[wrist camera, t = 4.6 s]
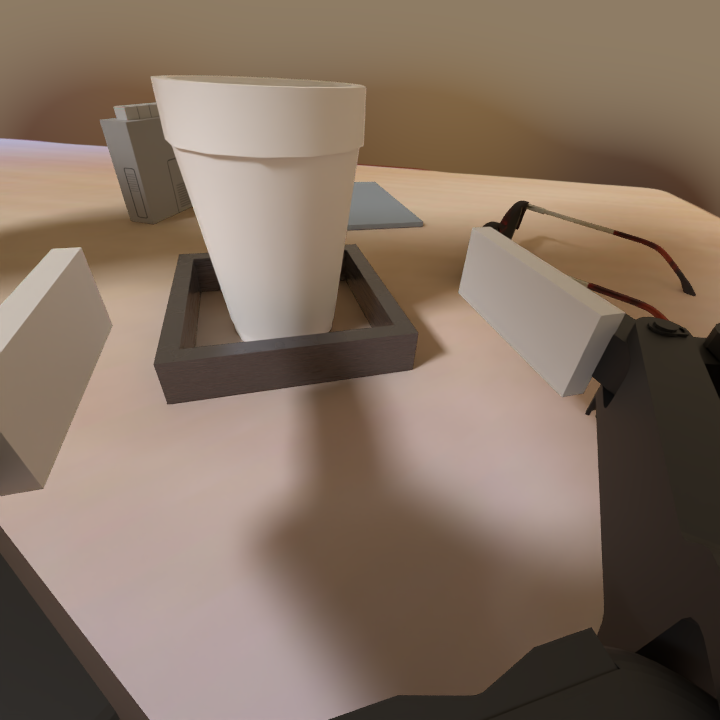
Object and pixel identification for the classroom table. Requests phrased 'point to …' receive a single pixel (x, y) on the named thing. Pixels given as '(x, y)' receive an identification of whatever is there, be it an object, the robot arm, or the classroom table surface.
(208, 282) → the holder collar
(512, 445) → the classroom table surface
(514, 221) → the sunglasses
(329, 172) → the foam cup
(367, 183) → the rubber mat
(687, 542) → the robot arm
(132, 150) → the cassette player
